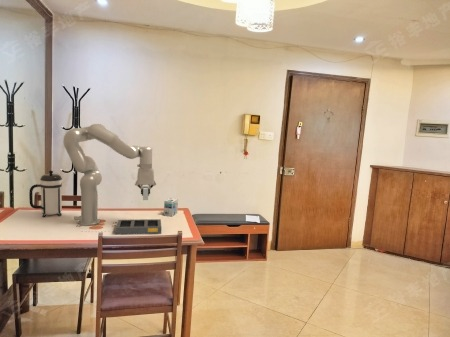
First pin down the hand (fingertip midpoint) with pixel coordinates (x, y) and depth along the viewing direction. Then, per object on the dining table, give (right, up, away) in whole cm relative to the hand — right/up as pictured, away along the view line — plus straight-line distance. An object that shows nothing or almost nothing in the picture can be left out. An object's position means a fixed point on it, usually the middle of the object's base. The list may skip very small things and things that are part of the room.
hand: (145, 194), depth 208 cm
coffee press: (-67, -15, +11) cm, 69 cm away
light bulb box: (+11, -17, +29) cm, 35 cm away
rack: (-2, -21, -7) cm, 22 cm away
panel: (0, -2, 0) cm, 2 cm away
